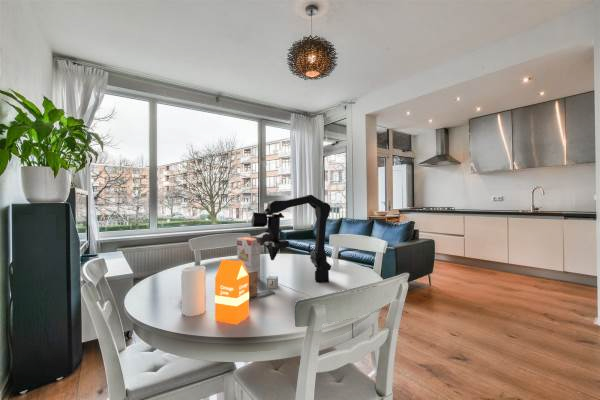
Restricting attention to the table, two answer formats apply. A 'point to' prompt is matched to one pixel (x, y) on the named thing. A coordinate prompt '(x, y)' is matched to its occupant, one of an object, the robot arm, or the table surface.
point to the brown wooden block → (253, 283)
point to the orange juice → (231, 292)
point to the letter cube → (272, 281)
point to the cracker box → (249, 253)
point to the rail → (262, 294)
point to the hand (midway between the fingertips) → (272, 260)
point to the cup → (193, 290)
